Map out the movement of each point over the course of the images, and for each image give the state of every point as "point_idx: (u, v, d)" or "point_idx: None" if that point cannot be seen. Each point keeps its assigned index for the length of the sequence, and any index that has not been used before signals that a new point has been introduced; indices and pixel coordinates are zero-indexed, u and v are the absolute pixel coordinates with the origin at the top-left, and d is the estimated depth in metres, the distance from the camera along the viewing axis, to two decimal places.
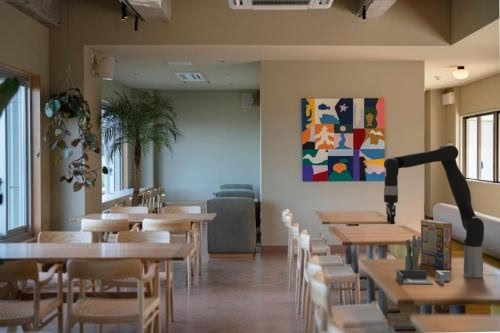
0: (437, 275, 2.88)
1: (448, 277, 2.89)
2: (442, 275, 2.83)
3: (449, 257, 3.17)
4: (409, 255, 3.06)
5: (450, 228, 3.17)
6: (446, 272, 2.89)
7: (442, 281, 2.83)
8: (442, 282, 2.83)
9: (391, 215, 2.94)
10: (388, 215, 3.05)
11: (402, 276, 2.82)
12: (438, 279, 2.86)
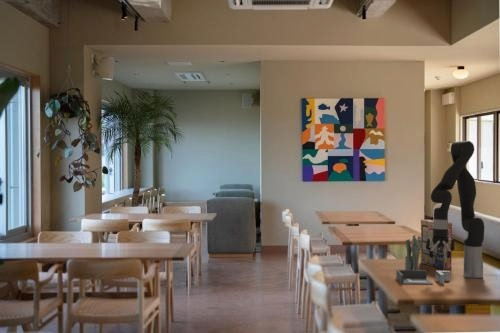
0: (437, 275, 2.88)
1: (448, 277, 2.89)
2: (442, 275, 2.83)
3: (449, 257, 3.17)
4: (409, 255, 3.06)
5: (450, 228, 3.17)
6: (446, 272, 2.89)
7: (442, 281, 2.83)
8: (442, 282, 2.83)
9: None
10: None
11: (402, 276, 2.82)
12: (438, 279, 2.86)
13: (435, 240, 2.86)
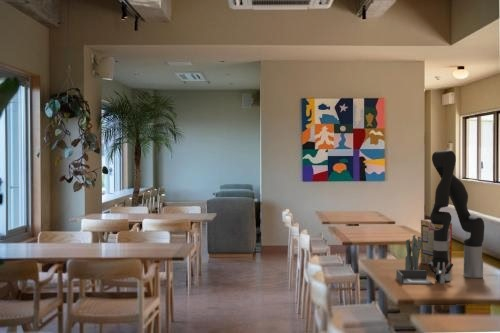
0: None
1: (448, 277, 2.89)
2: (442, 275, 2.82)
3: (449, 257, 3.17)
4: (409, 255, 3.06)
5: (450, 228, 3.17)
6: None
7: (442, 281, 2.82)
8: (442, 282, 2.83)
9: (448, 272, 2.86)
10: None
11: (402, 276, 2.82)
12: None
13: (435, 263, 2.86)
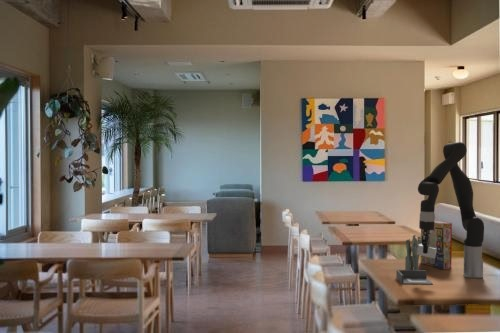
0: None
1: None
2: None
3: (449, 257, 3.17)
4: (409, 255, 3.06)
5: (450, 228, 3.17)
6: None
7: None
8: (434, 256, 2.82)
9: (429, 242, 2.87)
10: None
11: (402, 276, 2.82)
12: (427, 254, 2.83)
13: (427, 235, 2.81)
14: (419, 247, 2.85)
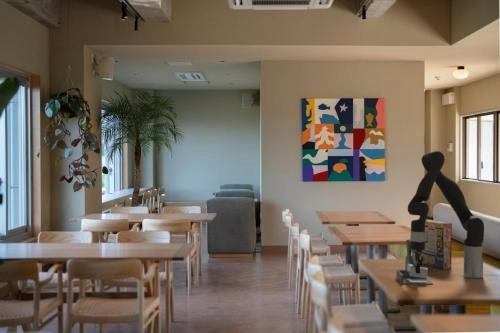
0: None
1: None
2: None
3: (449, 257, 3.17)
4: (409, 255, 3.06)
5: (450, 228, 3.17)
6: None
7: None
8: None
9: None
10: None
11: (402, 276, 2.82)
12: (420, 274, 2.84)
13: None
14: (412, 268, 2.84)
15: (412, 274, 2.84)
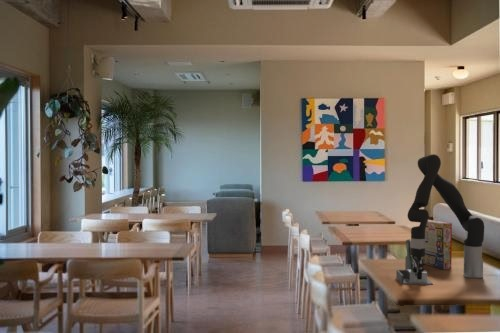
0: (416, 275, 2.84)
1: None
2: None
3: (449, 257, 3.17)
4: (409, 255, 3.06)
5: (450, 228, 3.17)
6: None
7: None
8: None
9: None
10: None
11: (402, 276, 2.82)
12: (419, 279, 2.84)
13: None
14: (411, 274, 2.84)
15: (412, 280, 2.84)
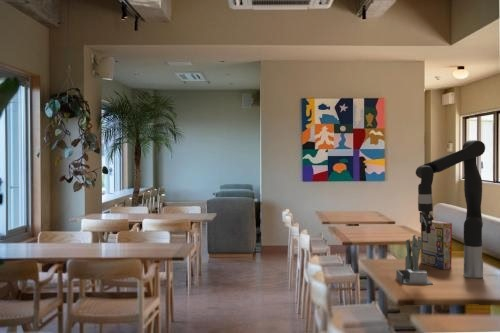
0: (416, 275, 2.84)
1: None
2: None
3: (449, 257, 3.17)
4: (409, 255, 3.06)
5: (450, 228, 3.17)
6: None
7: None
8: None
9: None
10: None
11: (402, 276, 2.82)
12: (419, 279, 2.84)
13: None
14: (411, 274, 2.84)
15: (412, 280, 2.84)
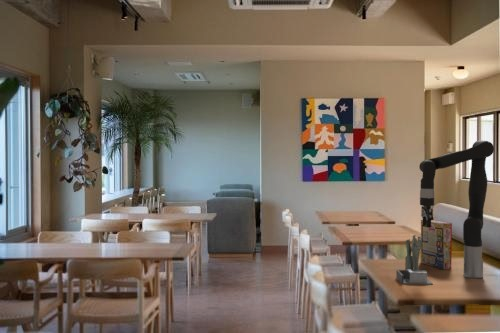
0: (416, 275, 2.84)
1: None
2: None
3: (449, 257, 3.17)
4: (409, 255, 3.06)
5: (450, 228, 3.17)
6: None
7: None
8: None
9: None
10: None
11: (402, 276, 2.82)
12: (419, 279, 2.84)
13: None
14: (411, 274, 2.84)
15: (412, 280, 2.84)
